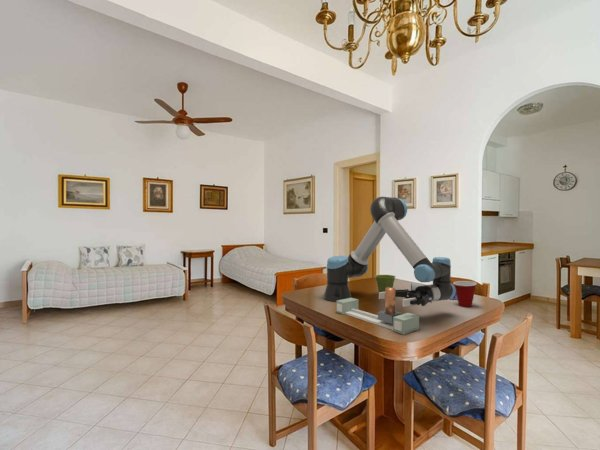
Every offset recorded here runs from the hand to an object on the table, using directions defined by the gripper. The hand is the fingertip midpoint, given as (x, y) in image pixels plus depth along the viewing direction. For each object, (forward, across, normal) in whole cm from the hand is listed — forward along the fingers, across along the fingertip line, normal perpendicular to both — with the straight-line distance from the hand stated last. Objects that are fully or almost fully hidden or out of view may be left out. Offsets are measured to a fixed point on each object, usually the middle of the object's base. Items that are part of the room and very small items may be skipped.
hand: (390, 299), depth 127 cm
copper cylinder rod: (0, +1, -9) cm, 9 cm away
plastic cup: (-56, +6, -11) cm, 57 cm away
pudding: (-66, +21, -12) cm, 70 cm away
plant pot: (-36, +42, -11) cm, 56 cm away
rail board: (+1, +8, -11) cm, 14 cm away
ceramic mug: (-52, +32, -11) cm, 62 cm away
